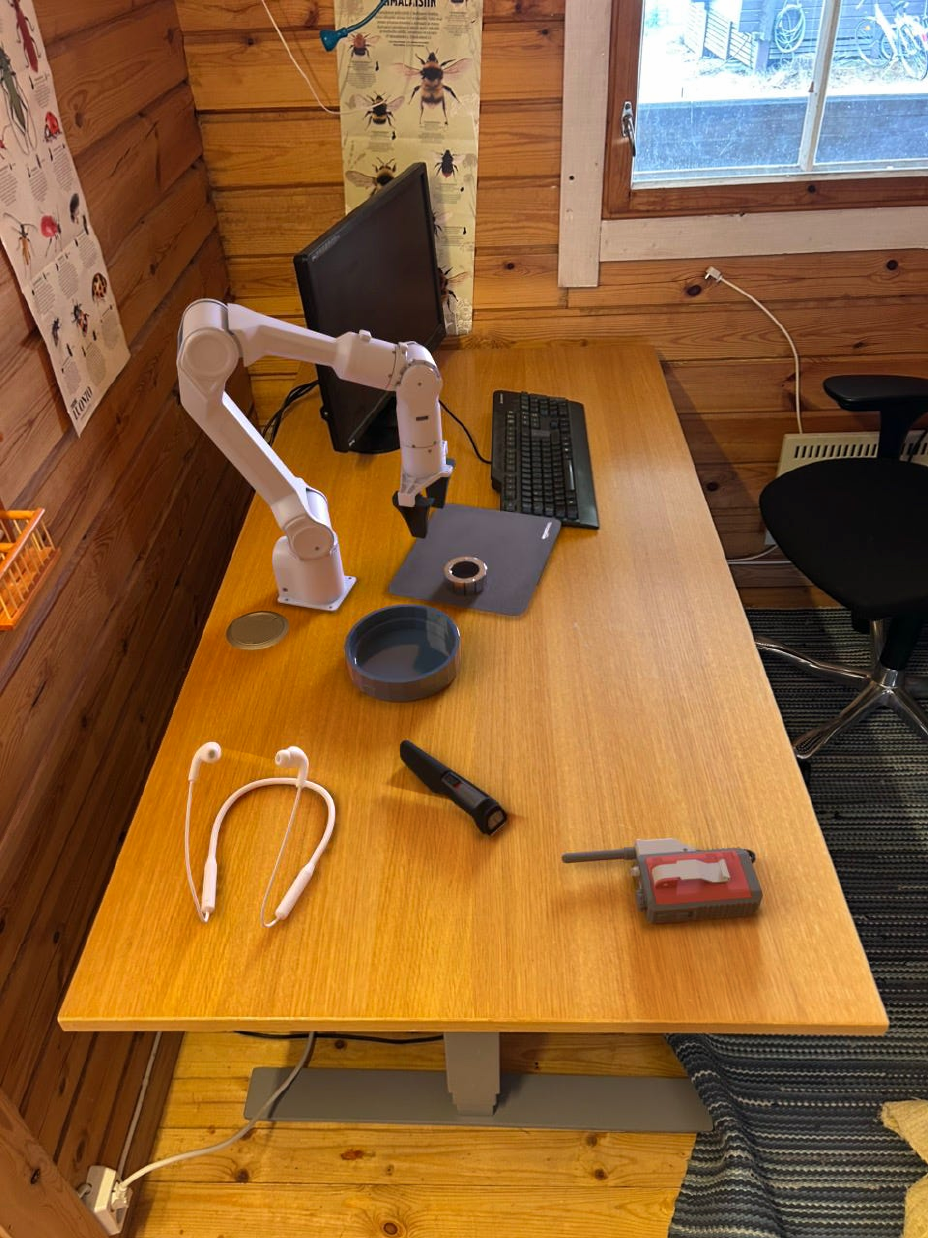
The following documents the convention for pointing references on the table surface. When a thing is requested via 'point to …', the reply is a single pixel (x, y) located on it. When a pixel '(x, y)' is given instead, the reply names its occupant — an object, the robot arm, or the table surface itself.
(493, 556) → the mouse pad
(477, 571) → the steel ring
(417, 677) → the bowl
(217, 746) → the earphone
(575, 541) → the table surface
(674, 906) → the walkie-talkie
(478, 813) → the electric trimmer
